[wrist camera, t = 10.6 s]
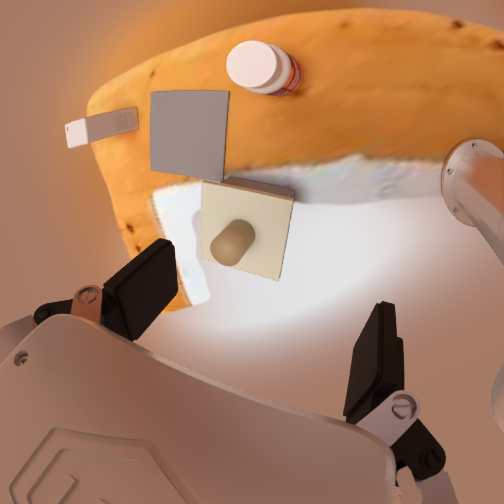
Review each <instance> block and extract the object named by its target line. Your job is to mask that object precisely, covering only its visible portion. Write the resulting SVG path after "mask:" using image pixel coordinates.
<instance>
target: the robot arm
mask: <svg viewBox="0 0 504 504" xmlns="http://www.w3.org/2000/svg"><path fill="white" fill-rule="evenodd" d="M472 143H473V146H472ZM448 169H449V171H448V172H447V170H448ZM441 187H442V193H443V197H444V200H445V203H446V205H447V207H448V208H449V210H450V211H451V213H452V214H453V215H454V216H455V217H456V218H457V219H458V220H459V221H460V222H462V223H464V224H466V225H468V226H473V227H477V229H478V230H479V231H480V233H481V234H482V235H483V236H484V238H485V239H486V240H487V242H488V243H489V245H490V246H491V247H492V249H493V250H494V252H495V253H496V254H497V256H498V257H499V259H500V260H501V262H502V263H503V265H504V154H503V152H502V151H501V150H500V149H499V148H498V147H497V146H495V145H494V144H493V143H491V142H489V141H486V140H483V139H469V140H465V141H463V142H461V143H459V144H458V145H457V146H456V147H455V148H454V149H453V150H452V151H451V152H450V154H449V155H448V157H447V159H446V161H445V164H444V167H443V170H442V177H441ZM454 207H455V209H453V208H454ZM103 285H104V288H103V289H102V290H101V288H99V287H98V286H96V285H87V286H84V287H81V288H80V289H79V290H77V292H76V293H75V295H74V298H73V299H70V300H65V301H59V302H53V303H47V304H44V305H42V306H40V307H39V308H38V309H37V310H36V311H35V313H34V316H33V317H32V315H28V316H26V317H24V318H22V319H19V320H17V321H15V322H12V323H10V324H8V325H6V326H4V327H2V328H1V329H0V504H392V501H393V496H394V490H395V486H397V487H399V488H400V491H401V495H400V499H401V504H458V501H457V498H456V495H455V492H454V489H453V486H452V483H451V480H450V477H449V475H448V472H446V473H445V472H444V469H443V467H444V465H445V462H446V455H445V451H444V450H443V448H442V447H441V445H440V444H439V443H438V442H437V441H436V439H435V438H434V437H433V436H432V434H431V433H430V432H429V431H428V430H427V428H426V427H425V426H424V425H423V424H422V422H421V421H420V420H419V419H418V416H419V414H420V404H419V401H418V399H417V398H416V397H415V396H414V395H413V394H412V393H410V392H408V391H404V352H403V339H402V338H400V337H397V329H396V315H395V314H396V313H395V305H394V304H392V303H388V302H384V301H382V302H381V303H380V304H378V303H377V304H376V305H375V307H374V309H373V311H372V313H371V315H370V317H369V319H368V321H367V323H366V325H365V327H364V328H363V330H362V332H361V334H360V336H359V338H358V340H357V342H356V344H355V346H354V349H353V355H352V362H351V369H350V376H349V383H348V389H347V395H346V401H345V406H344V411H343V416H347V417H346V422H344V421H341V420H337V419H334V418H330V417H327V416H323V415H319V414H315V413H312V412H308V411H305V410H301V409H298V408H294V407H291V406H288V405H284V404H281V403H278V402H275V401H271V400H268V399H265V398H262V397H259V396H256V395H253V394H250V393H248V392H245V391H242V390H239V389H237V388H234V387H231V386H229V385H226V384H223V383H221V382H218V381H216V380H213V379H211V378H208V377H206V376H203V375H201V374H199V373H196V372H194V371H192V370H189V369H187V368H185V367H182V366H180V365H178V364H176V363H174V362H172V361H170V360H167V359H165V358H163V357H161V356H159V355H157V354H155V353H153V352H151V351H149V350H147V349H145V348H143V347H141V346H139V345H137V344H135V343H133V341H134V340H137V339H138V338H139V337H140V336H141V335H142V334H143V333H144V331H145V330H146V329H147V328H148V327H149V326H150V324H151V323H152V322H153V321H154V320H155V319H156V317H157V316H158V315H159V314H160V313H161V312H162V311H163V309H164V308H165V307H166V306H167V305H168V304H169V303H170V301H171V300H172V299H173V298H174V297H175V296H176V294H177V292H178V282H177V271H176V259H175V247H174V245H172V242H171V241H169V240H166V239H162V238H159V239H157V240H156V241H155V242H154V243H152V244H151V245H150V246H149V247H147V248H146V249H145V250H144V251H142V252H141V253H140V254H139V255H138V256H136V257H135V258H134V259H133V260H131V261H130V262H129V263H128V264H127V265H125V266H124V267H123V268H122V269H121V270H120V271H118V272H117V273H116V274H115V275H114V276H113V277H111V278H110V279H109V280H108V281H107V282H106V283H104V284H103ZM491 405H492V410H493V414H494V416H495V419H496V421H497V423H498V425H499V426H500V428H501V429H502V431H503V432H504V362H503V364H502V365H501V367H500V368H499V370H498V372H497V374H496V376H495V379H494V382H493V386H492V391H491Z"/></svg>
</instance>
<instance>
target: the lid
mask: <svg viewBox="0 0 504 504" xmlns="http://www.w3.org/2000/svg"><path fill="white" fill-rule="evenodd" d="M293 203H294V198H290V197H286V196H281V195H277V194H272V193H268V192H263V191H259V190H254V189H249V188H244V187H239V186H234V185H229V184H224V183H218V182H213V181H208V180H205V181H203V182H202V189H201V258H202V259H205V260H208V261H211V262H215V263H218V264H221V265H224V266H228V267H231V268H234V269H238V270H242V271H245V272H248V273H251V274H255V275H258V276H262V277H265V278H269V279H272V280H276V281H278V280H279V278H280V275H281V269H282V264H283V259H284V253H285V248H286V243H287V237H288V232H289V226H290V220H291V214H292V209H293Z"/></svg>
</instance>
